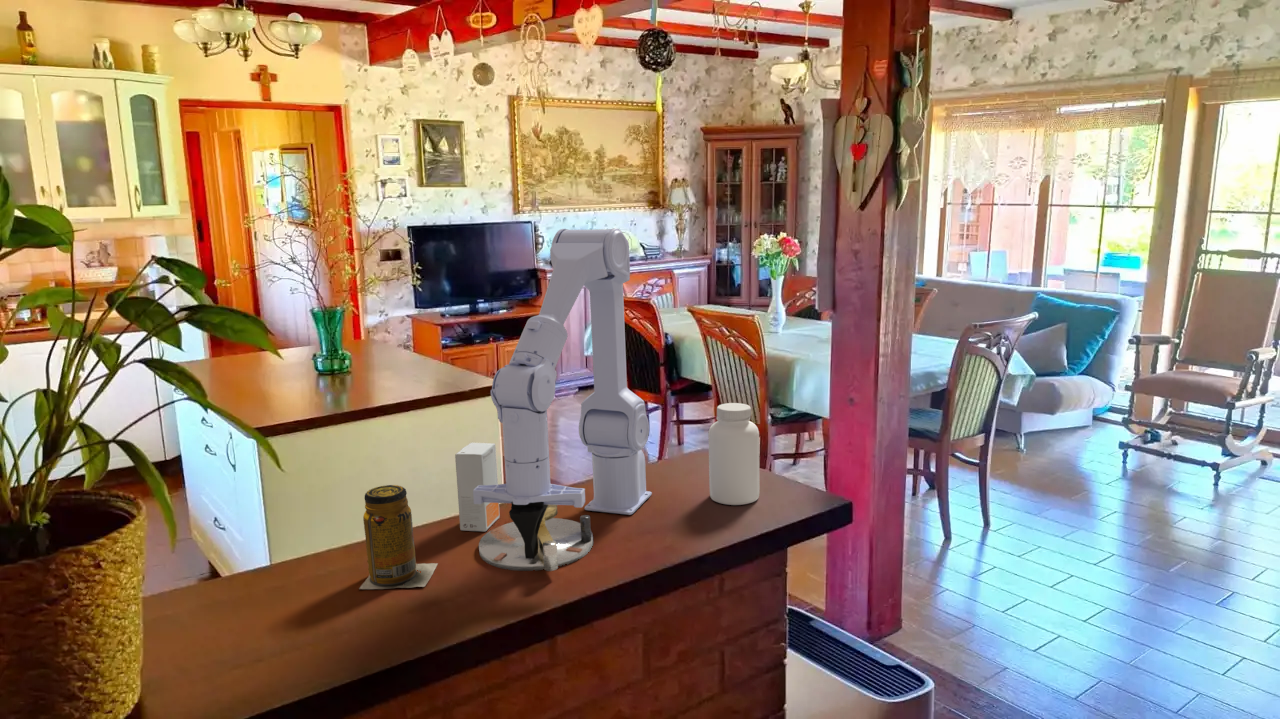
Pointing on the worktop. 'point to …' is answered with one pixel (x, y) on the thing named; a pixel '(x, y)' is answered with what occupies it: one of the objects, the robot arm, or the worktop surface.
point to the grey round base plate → (509, 553)
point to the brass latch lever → (547, 542)
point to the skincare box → (472, 471)
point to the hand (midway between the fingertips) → (532, 555)
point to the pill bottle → (734, 456)
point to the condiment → (391, 541)
